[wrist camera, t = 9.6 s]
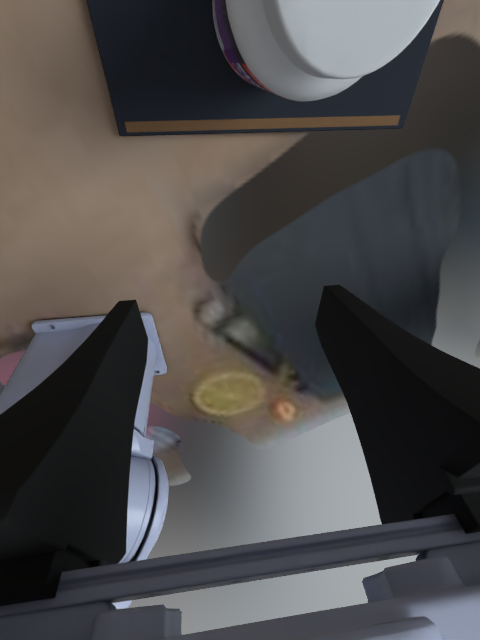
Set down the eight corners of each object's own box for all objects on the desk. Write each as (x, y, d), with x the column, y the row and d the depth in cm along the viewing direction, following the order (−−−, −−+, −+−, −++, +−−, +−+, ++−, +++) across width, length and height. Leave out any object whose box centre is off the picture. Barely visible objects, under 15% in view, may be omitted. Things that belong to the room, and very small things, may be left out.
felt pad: (121, 134, 15) (119, 136, 15) (40, -198, 9) (35, -206, 9) (399, 127, 17) (403, 128, 16) (491, -168, 11) (500, -175, 10)
